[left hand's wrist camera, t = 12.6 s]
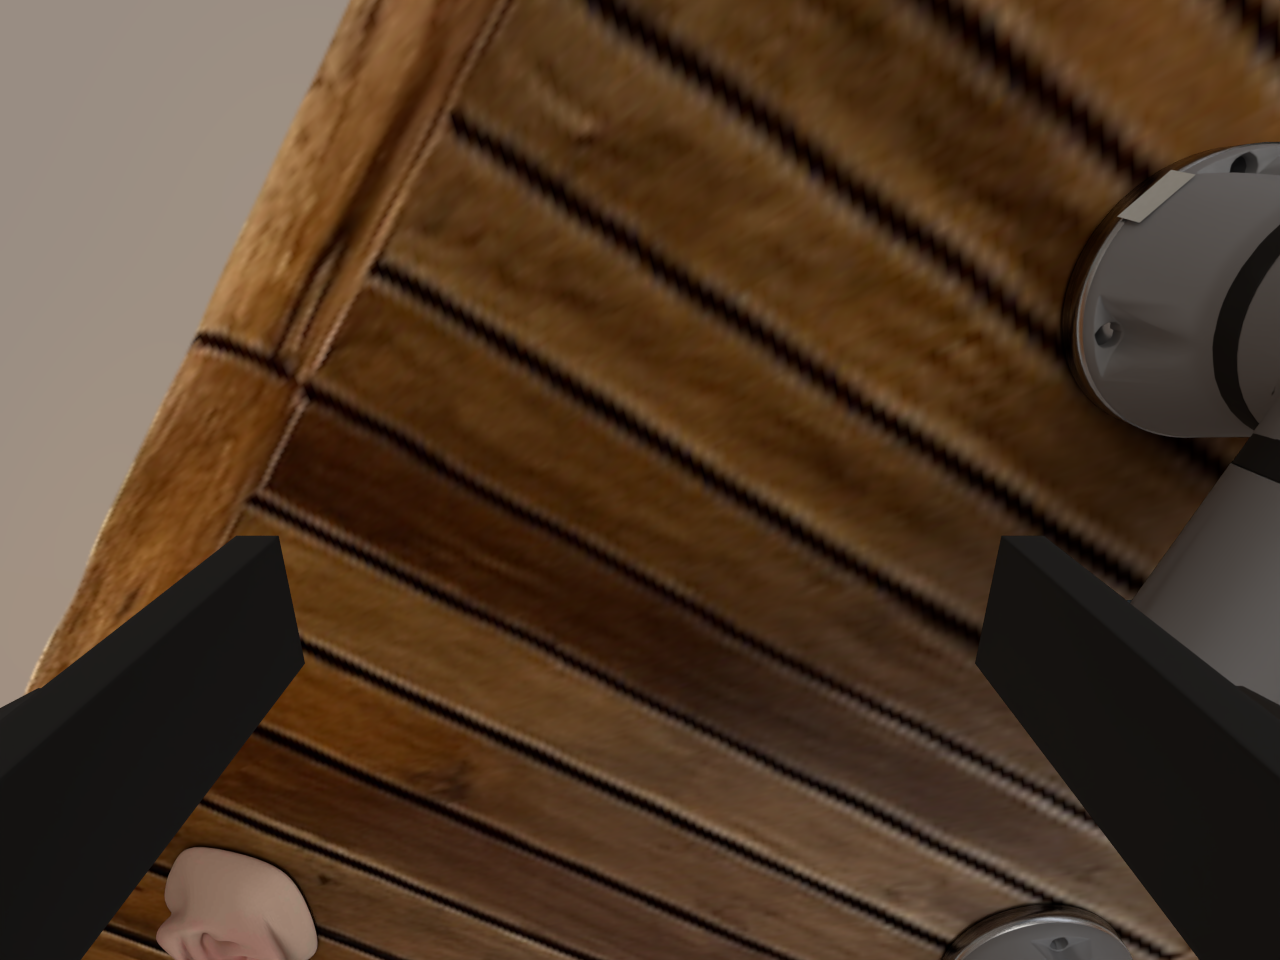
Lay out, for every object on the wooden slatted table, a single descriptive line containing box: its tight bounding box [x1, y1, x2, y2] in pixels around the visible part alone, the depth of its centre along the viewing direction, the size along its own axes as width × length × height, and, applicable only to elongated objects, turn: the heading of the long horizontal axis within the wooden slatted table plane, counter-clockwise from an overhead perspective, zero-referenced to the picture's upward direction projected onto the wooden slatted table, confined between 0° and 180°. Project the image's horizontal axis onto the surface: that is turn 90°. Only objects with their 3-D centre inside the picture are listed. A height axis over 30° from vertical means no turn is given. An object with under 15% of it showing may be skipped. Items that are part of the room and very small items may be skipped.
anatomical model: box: [156, 847, 317, 960], centre depth 53 cm, size 13×4×12 cm
